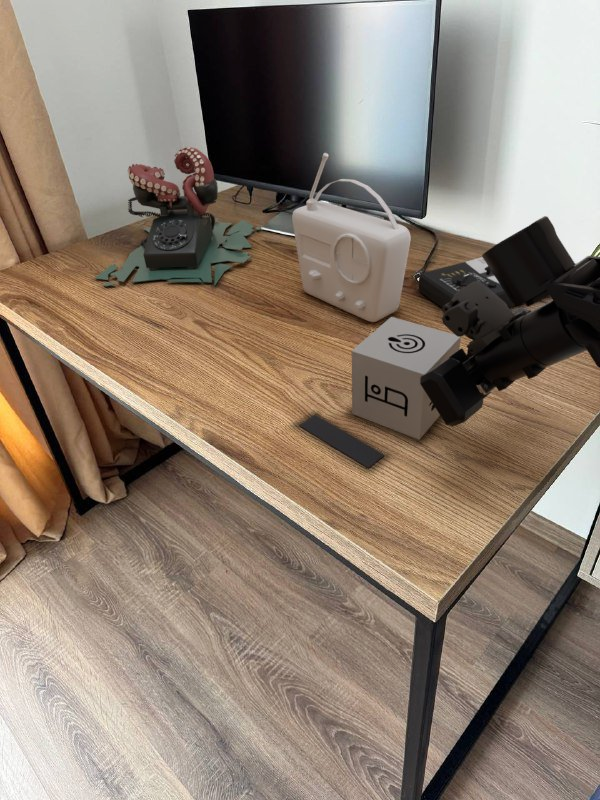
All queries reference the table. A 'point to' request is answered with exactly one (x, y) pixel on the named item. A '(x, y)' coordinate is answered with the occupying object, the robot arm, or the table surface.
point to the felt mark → (342, 441)
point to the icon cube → (398, 375)
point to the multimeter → (459, 281)
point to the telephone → (181, 226)
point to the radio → (351, 255)
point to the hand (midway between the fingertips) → (440, 386)
